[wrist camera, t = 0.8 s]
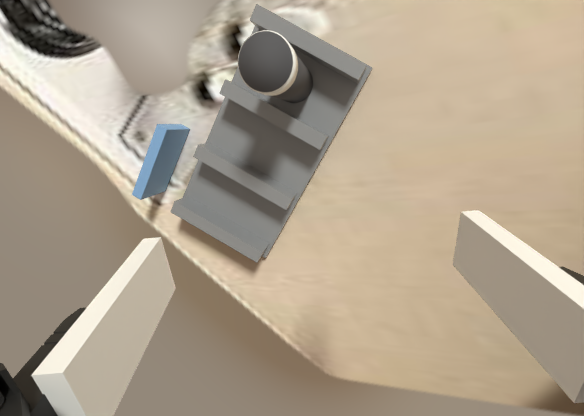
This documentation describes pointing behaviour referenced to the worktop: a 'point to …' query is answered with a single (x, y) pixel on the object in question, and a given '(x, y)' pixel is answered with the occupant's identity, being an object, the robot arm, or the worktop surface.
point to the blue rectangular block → (160, 159)
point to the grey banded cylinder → (274, 67)
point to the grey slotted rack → (268, 145)
